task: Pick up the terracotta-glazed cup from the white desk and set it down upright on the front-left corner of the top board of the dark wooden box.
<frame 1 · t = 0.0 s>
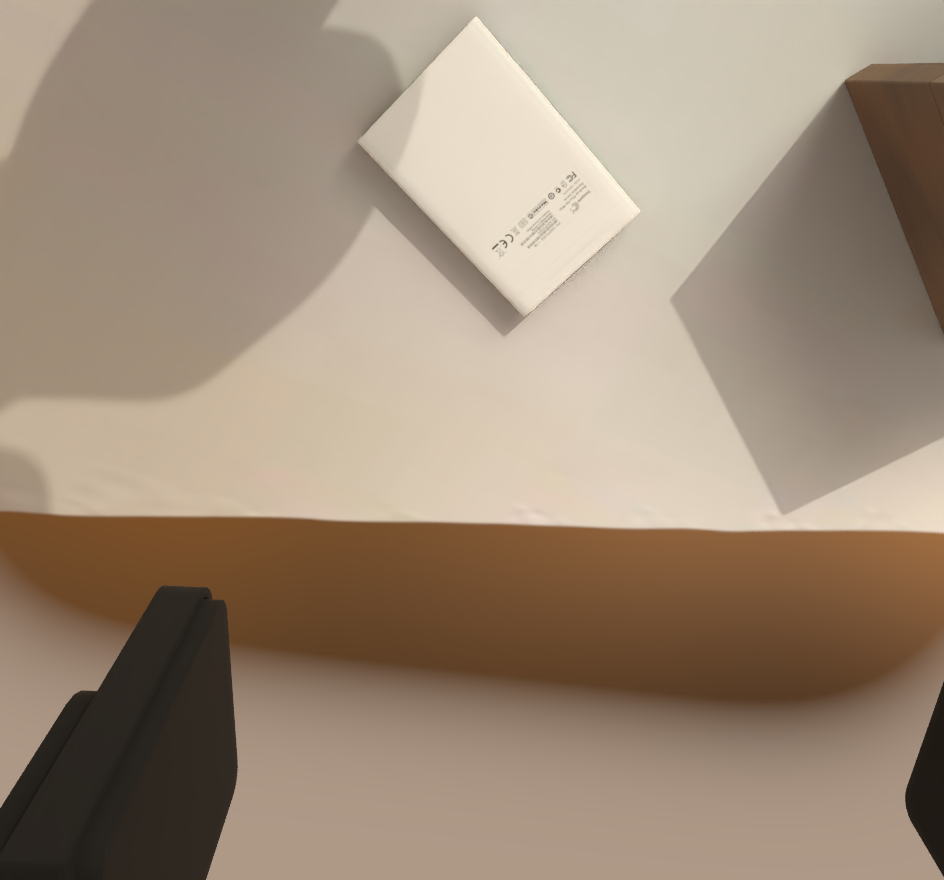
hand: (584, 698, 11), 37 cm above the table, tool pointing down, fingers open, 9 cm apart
hard drive: (500, 173, 44), on the table
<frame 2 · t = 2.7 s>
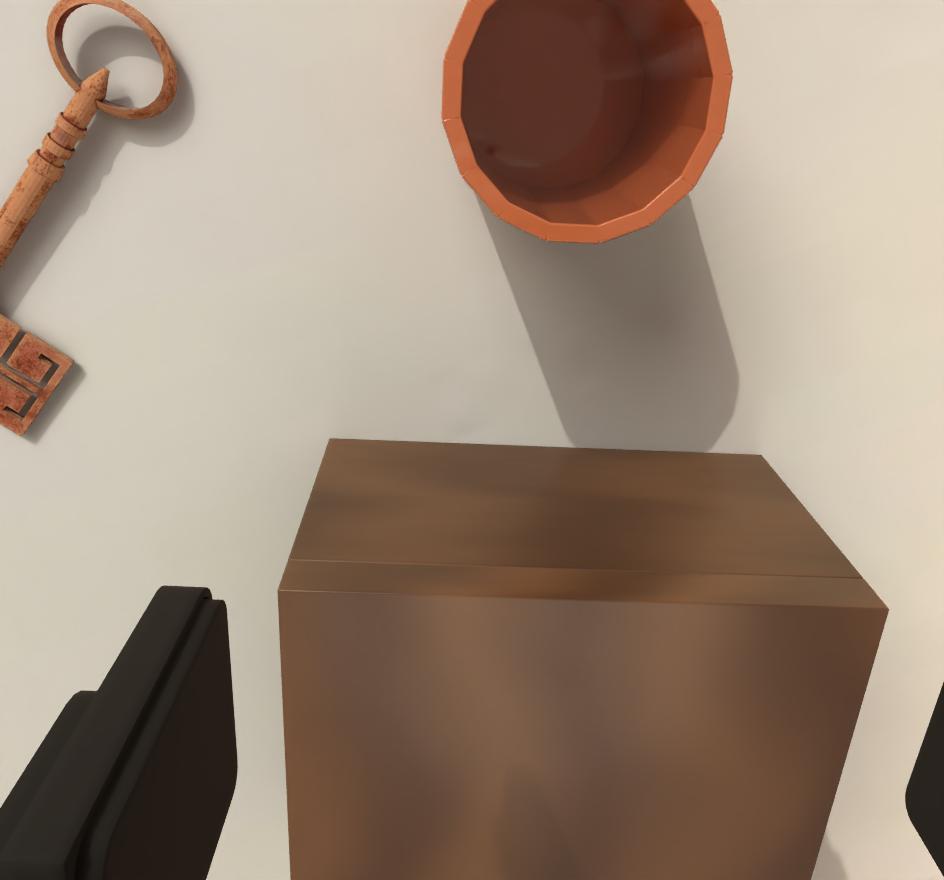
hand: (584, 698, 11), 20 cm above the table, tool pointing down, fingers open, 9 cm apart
dark wooden box: (526, 667, 35), on the table
cup: (549, 92, 26), on the table
key: (51, 230, 28), on the table
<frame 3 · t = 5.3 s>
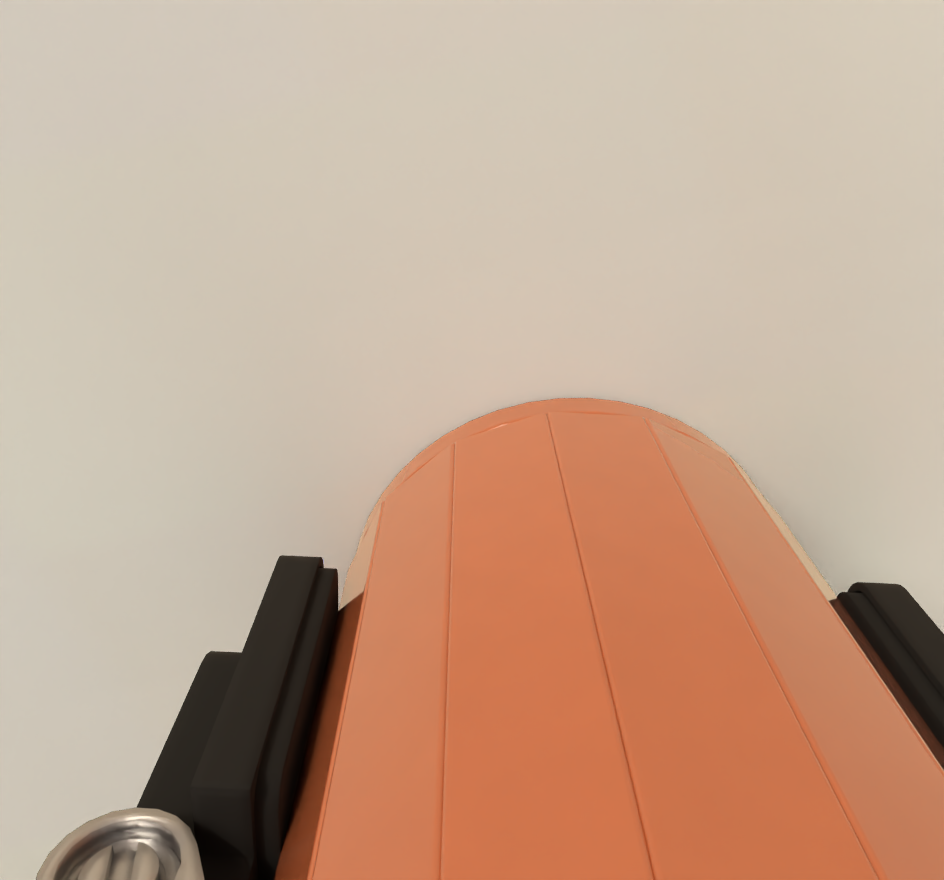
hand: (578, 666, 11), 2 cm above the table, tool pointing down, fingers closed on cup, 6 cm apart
cup: (565, 595, 13), on the table, touching gripper
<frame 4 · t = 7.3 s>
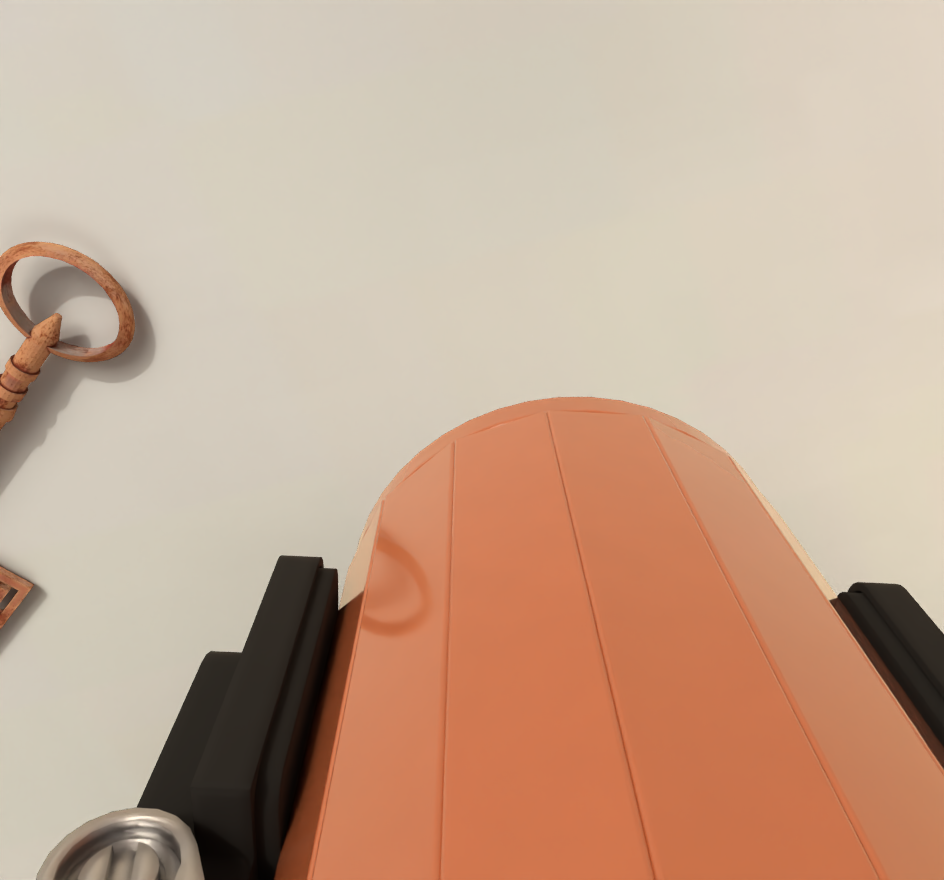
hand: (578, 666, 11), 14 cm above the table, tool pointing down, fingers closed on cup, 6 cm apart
cup: (565, 593, 13), point 13 cm above the table, touching gripper
key: (6, 460, 26), on the table
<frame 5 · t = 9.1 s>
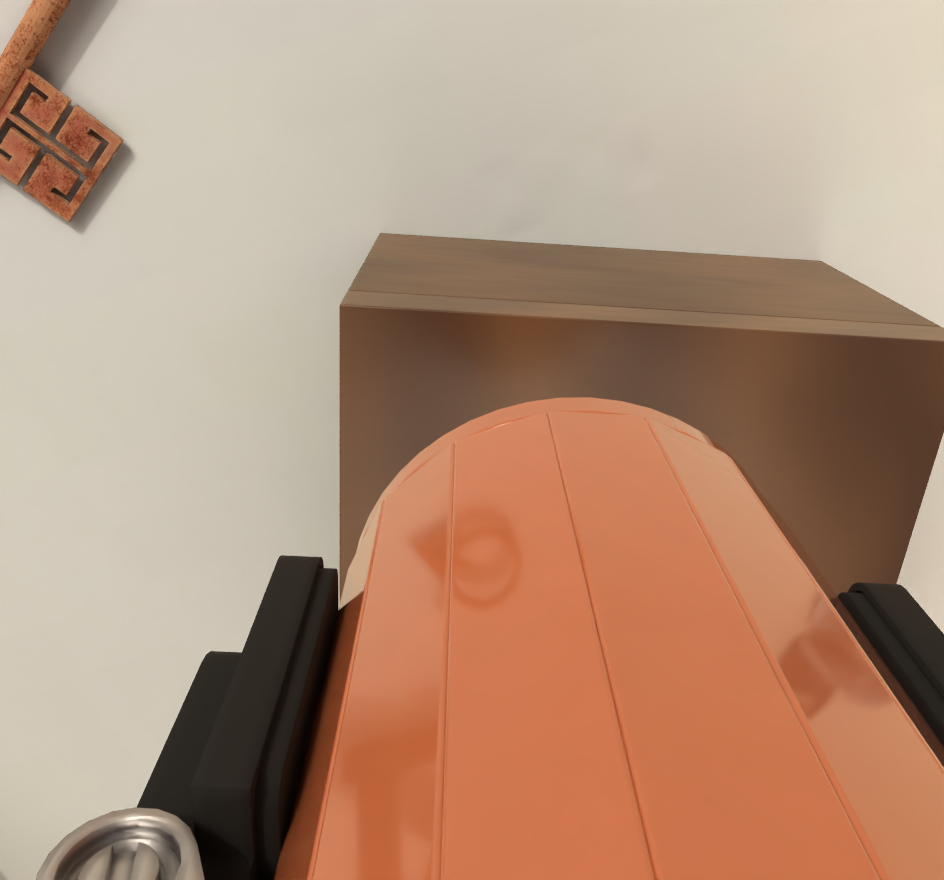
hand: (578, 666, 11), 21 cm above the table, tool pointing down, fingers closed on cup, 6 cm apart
dark wooden box: (571, 494, 34), on the table
cup: (565, 594, 13), point 20 cm above the table, touching gripper
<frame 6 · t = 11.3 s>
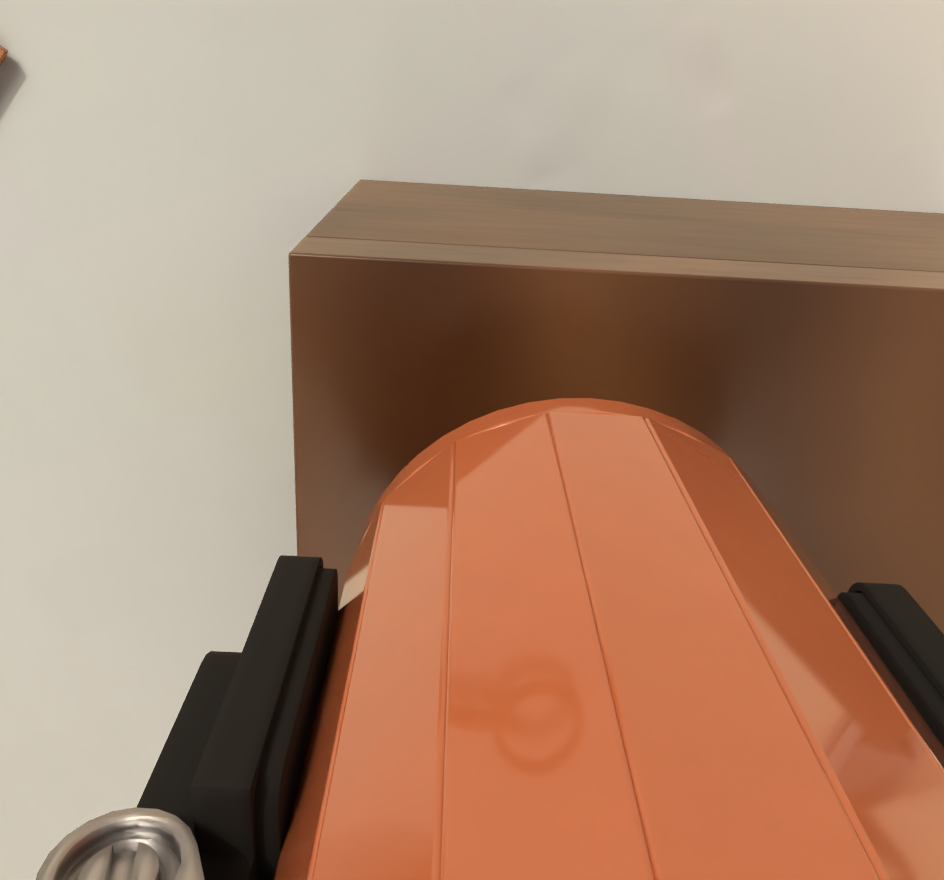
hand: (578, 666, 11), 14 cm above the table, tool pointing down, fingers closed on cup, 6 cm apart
dark wooden box: (611, 522, 27), on the table
cup: (565, 595, 13), point 13 cm above the table, touching gripper
when the fingers open (12 cm above the table, at t = 12.7 s): cup stays where it is, resting on dark wooden box.
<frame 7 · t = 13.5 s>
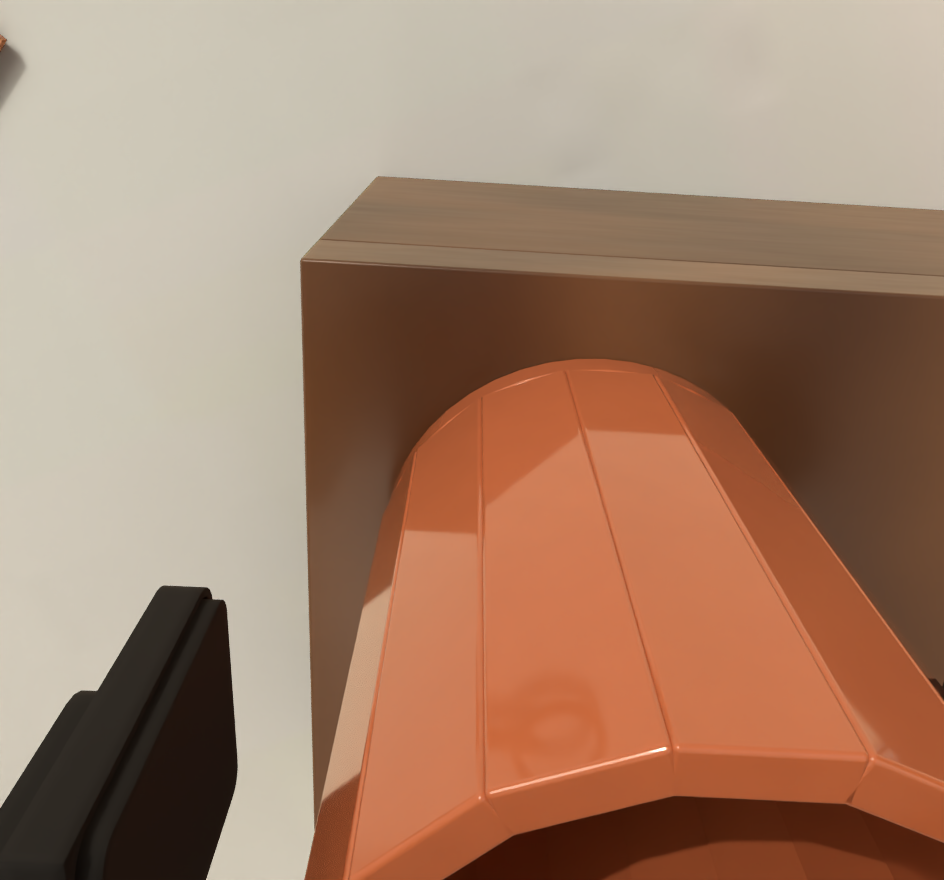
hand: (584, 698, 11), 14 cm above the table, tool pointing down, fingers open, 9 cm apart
dark wooden box: (637, 536, 25), on the table
cup: (580, 543, 14), point 10 cm above the table, touching dark wooden box
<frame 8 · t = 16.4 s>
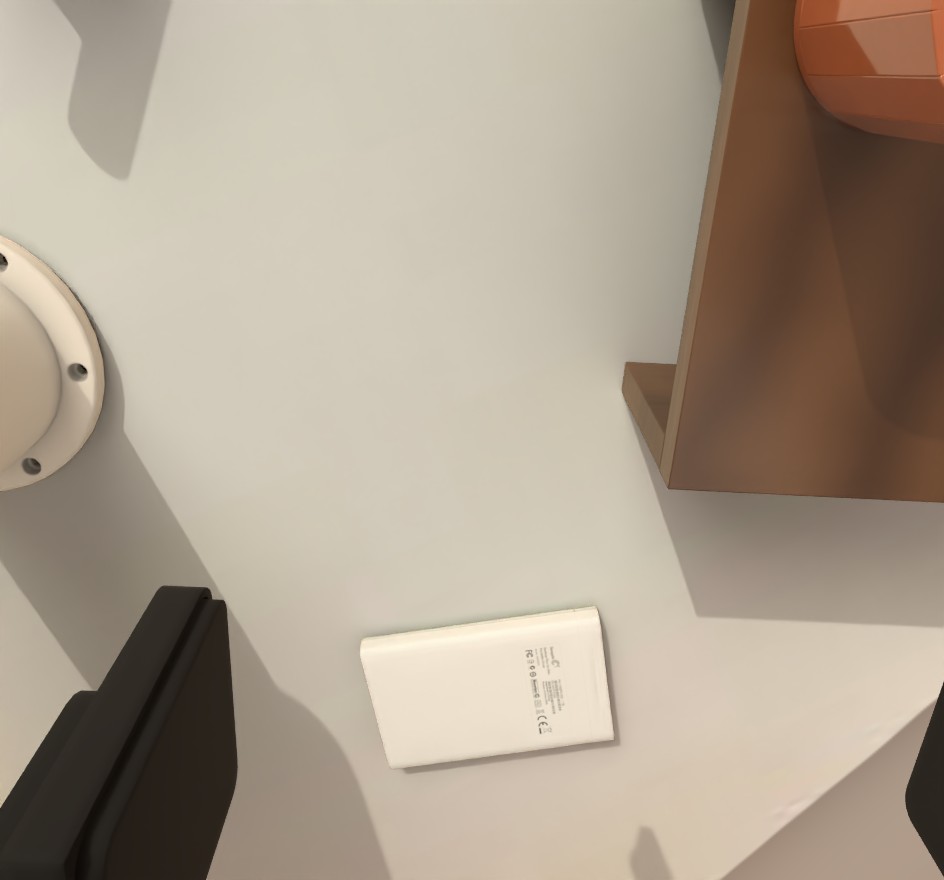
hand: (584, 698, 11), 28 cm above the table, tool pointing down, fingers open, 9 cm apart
dark wooden box: (840, 178, 36), on the table
cup: (907, 11, 24), point 10 cm above the table, touching dark wooden box
hard drive: (489, 677, 46), on the table
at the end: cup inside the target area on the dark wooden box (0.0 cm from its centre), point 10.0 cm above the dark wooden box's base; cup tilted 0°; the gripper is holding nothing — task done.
